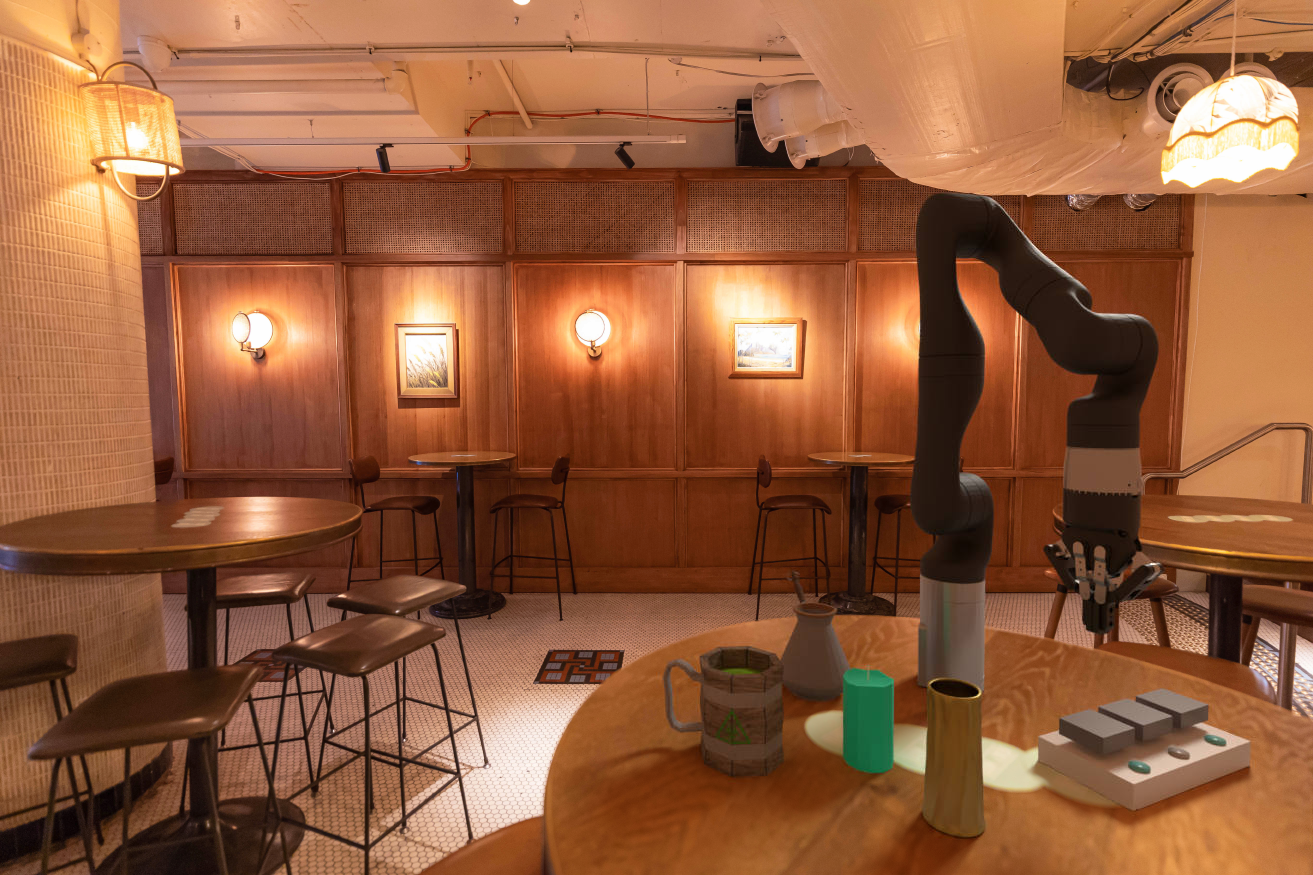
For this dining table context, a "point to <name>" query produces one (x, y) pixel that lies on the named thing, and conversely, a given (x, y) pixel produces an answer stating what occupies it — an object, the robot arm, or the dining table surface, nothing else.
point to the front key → (1097, 731)
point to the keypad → (1149, 763)
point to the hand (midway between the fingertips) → (1098, 631)
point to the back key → (1176, 707)
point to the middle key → (1139, 718)
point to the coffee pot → (813, 652)
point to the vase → (954, 758)
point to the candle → (868, 720)
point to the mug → (736, 709)
